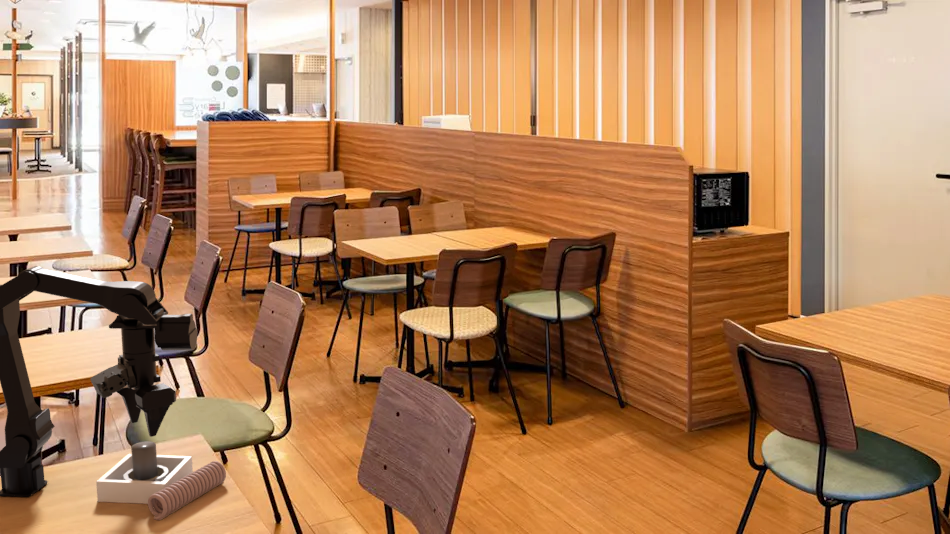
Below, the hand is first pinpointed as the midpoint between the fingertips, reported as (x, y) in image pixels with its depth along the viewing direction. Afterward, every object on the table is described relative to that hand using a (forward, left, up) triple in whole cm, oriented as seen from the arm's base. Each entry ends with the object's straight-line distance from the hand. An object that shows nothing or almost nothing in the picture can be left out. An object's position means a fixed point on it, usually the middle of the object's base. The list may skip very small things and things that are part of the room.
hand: (143, 429), depth 162 cm
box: (0, 0, -12) cm, 12 cm away
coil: (+10, -4, -12) cm, 16 cm away
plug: (0, 0, -11) cm, 11 cm away
